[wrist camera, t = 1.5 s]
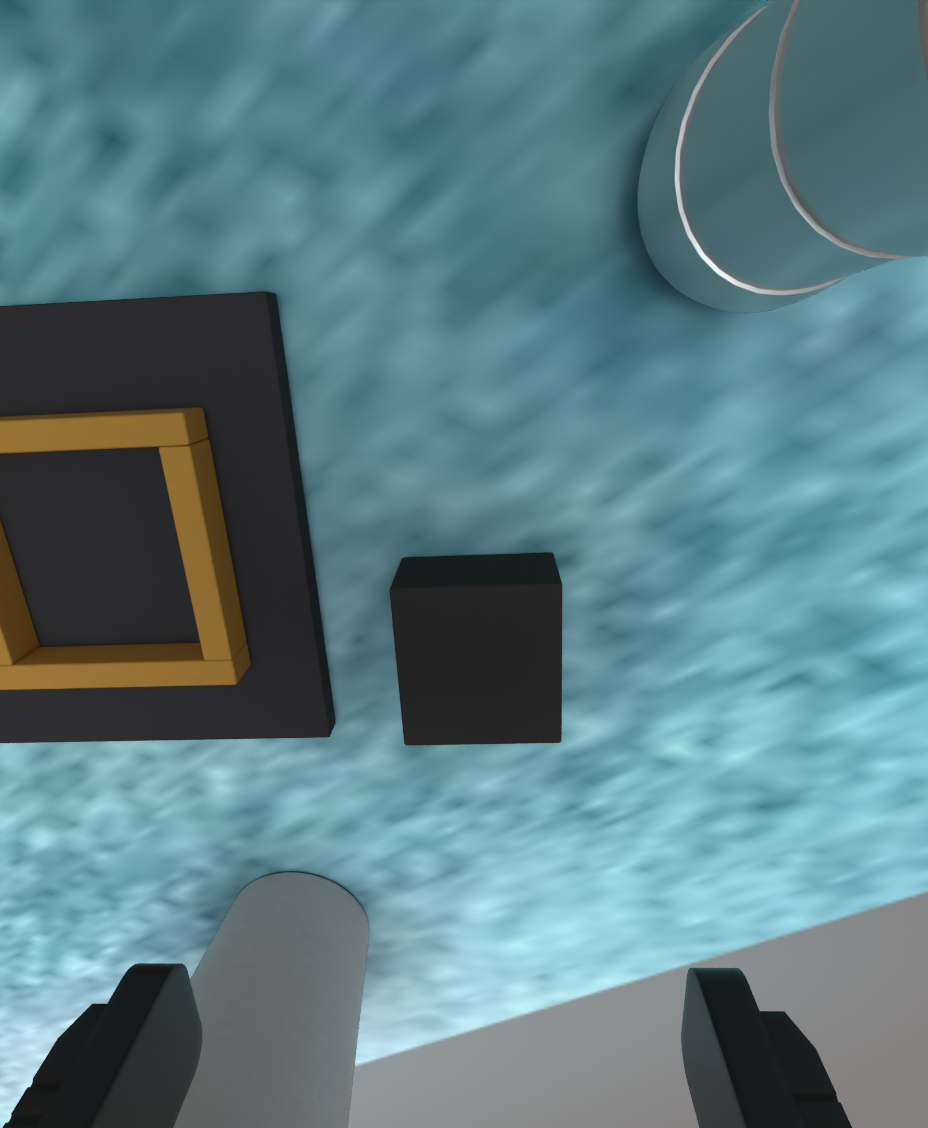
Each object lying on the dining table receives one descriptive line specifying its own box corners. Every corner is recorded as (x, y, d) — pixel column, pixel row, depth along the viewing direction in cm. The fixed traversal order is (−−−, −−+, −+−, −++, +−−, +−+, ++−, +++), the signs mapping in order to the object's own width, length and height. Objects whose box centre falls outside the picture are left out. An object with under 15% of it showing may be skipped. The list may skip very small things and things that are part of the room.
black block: (401, 557, 23) (388, 588, 20) (553, 552, 23) (562, 583, 20) (414, 699, 25) (404, 746, 22) (553, 696, 25) (561, 743, 22)
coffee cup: (164, 937, 30) (-126, 1473, 16) (259, 809, 27) (9, 1325, 13) (334, 1023, 32) (209, 1579, 17) (442, 911, 29) (395, 1469, 15)
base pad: (-142, 316, 21) (-223, 314, 18) (276, 293, 20) (247, 287, 18) (4, 729, 26) (-45, 768, 24) (335, 722, 25) (320, 762, 23)
